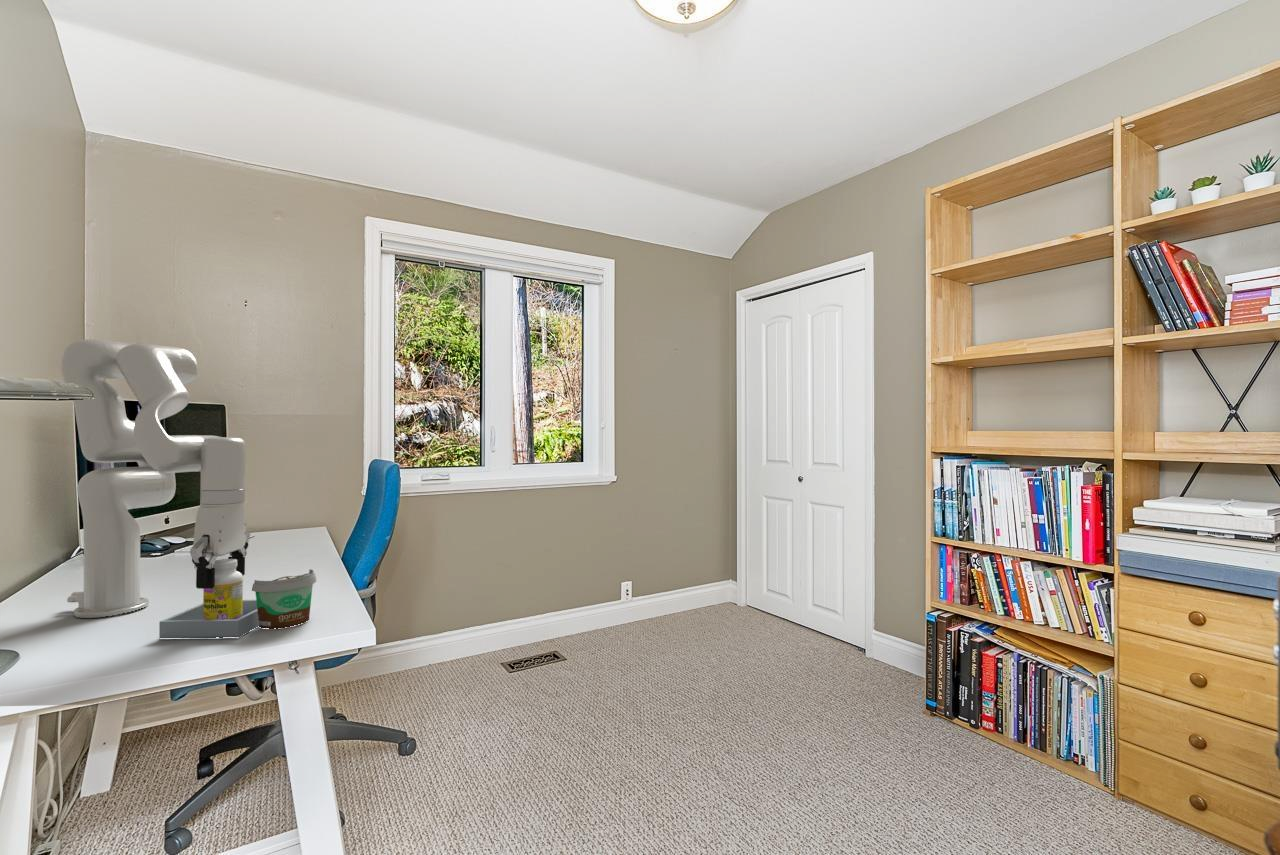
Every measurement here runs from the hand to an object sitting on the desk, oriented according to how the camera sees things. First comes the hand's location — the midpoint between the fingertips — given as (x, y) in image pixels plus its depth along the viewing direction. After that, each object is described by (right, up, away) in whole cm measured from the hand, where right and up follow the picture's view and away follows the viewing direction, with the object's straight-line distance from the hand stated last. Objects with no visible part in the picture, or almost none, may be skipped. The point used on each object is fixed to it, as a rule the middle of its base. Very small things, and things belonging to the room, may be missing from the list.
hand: (221, 581), depth 124 cm
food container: (+13, -9, +1) cm, 16 cm away
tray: (+1, -9, 0) cm, 9 cm away
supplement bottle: (0, -9, 0) cm, 9 cm away
